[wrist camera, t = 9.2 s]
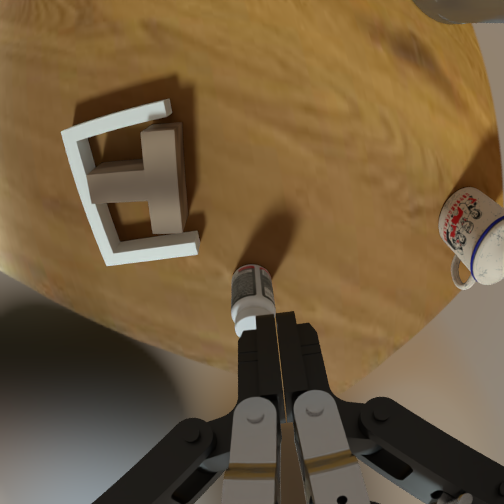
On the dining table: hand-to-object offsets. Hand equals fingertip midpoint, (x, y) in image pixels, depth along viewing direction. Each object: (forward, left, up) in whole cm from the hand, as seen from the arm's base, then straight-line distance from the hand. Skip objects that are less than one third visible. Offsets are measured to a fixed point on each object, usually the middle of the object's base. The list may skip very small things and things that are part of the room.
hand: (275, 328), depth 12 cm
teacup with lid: (+10, +26, -22) cm, 35 cm away
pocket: (0, -12, -22) cm, 25 cm away
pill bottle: (+14, -2, -22) cm, 26 cm away
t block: (-1, -11, -22) cm, 24 cm away
